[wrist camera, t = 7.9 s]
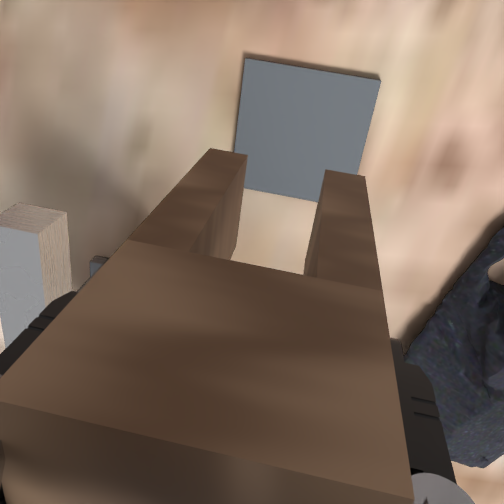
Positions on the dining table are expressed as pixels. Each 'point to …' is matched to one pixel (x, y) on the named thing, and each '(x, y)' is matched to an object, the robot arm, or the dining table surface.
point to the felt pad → (301, 126)
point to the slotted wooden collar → (214, 367)
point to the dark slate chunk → (468, 361)
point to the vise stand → (33, 264)
